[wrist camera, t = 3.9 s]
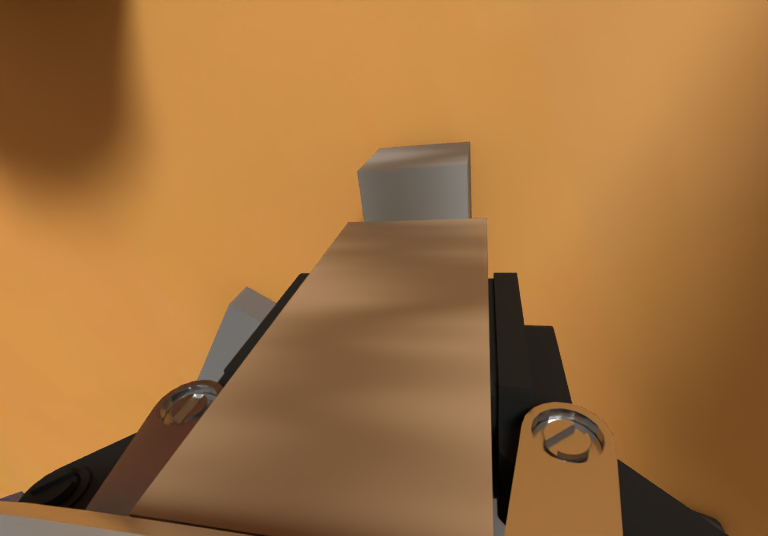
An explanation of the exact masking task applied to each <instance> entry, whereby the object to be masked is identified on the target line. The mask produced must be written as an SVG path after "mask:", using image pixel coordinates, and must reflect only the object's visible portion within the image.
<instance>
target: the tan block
mask: <svg viewBox="0 0 768 536" xmlns="http://www.w3.org/2000/svg"><path fill="white" fill-rule="evenodd" d="M357 173H358V180H359V187H360V194H361V201H362V208H363V215H364V222H348V223H347V225H346V226H345V227H344V229H343V230H342V231H341V233H340V234H339V235H338V237H337V238H336V239H335V241H334V242H333V243H332V245H331V246H330V247H329V249H328V250H327V251H326V253H325V254H324V255H323V257H322V258H321V259H320V261H319V262H318V263H317V265H316V266H315V267H314V269H313V270H312V271H311V272H310V274H309V275H308V276H307V278H306V279H305V280H304V282H303V283H302V284H301V286H300V287H299V288H298V290H297V291H296V292H295V294H294V295H293V296H292V298H291V299H290V300H289V302H288V303H287V304H286V306H285V307H284V308H283V310H282V311H281V312H280V314H279V315H278V316H277V318H276V319H275V320H274V322H273V323H272V324H271V326H270V327H269V328H268V330H267V331H266V332H265V334H264V335H263V336H262V338H261V339H260V340H259V341H258V343H257V344H256V345H255V347H254V348H253V349H252V351H251V352H250V353H249V355H248V356H247V357H246V359H245V360H244V361H243V363H242V364H241V365H240V367H239V368H238V369H237V371H236V372H235V373H234V375H233V376H232V377H231V379H230V380H229V381H228V383H227V384H226V385H225V387H224V388H223V389H222V391H221V392H220V393H219V395H218V396H217V397H216V399H215V400H214V401H213V403H212V404H211V405H210V407H209V408H208V409H207V411H206V412H205V413H204V414H203V416H202V417H201V418H200V420H199V421H198V422H197V424H196V425H195V426H194V428H193V429H192V430H191V432H190V433H189V434H188V436H187V437H186V438H185V440H184V441H183V442H182V444H181V445H180V446H179V448H178V449H177V450H176V452H175V453H174V454H173V456H172V457H171V458H170V460H169V461H168V462H167V464H166V465H165V466H164V468H163V469H162V470H161V472H160V473H159V474H158V476H157V477H156V478H155V480H154V481H153V482H152V483H151V485H150V486H149V487H148V489H147V490H146V491H145V493H144V494H143V495H142V497H141V498H140V499H139V501H138V502H137V503H136V505H135V506H134V507H133V509H132V510H131V511H130V513H129V515H130V517H134V518H141V519H147V520H154V521H161V522H167V523H174V524H181V525H187V526H194V527H201V528H207V529H214V530H220V531H226V532H233V533H239V534H246V535H252V536H493V494H492V446H491V398H490V350H489V301H488V253H487V218H472V215H471V164H470V142H460V143H447V144H433V145H419V146H405V147H392V148H380V149H379V150H378V151H377V152H376V153H375V154H374V155H373V156H372V157H371V158H370V159H369V160H368V161H367V162H366V163H365V164H364V165H363V166H362V167H361V168H360V169H359V170H358V171H357Z"/></svg>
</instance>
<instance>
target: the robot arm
mask: <svg viewBox="0 0 768 536" xmlns="http://www.w3.org/2000/svg"><path fill="white" fill-rule="evenodd" d="M309 274H310V273H301V274H300V275H299V276H298V277H297V278H296V280H295V281H294V282H293V283H292V285H291V286H290V287H289V288H288V290H287V291H286V292H285V293H284V295H283V296H282V297H281V298H280V300H279V301H278V302H277V303H276V305H275V306H274V307H273V308H272V310H271V311H270V312H269V313H268V315H267V316H266V317H265V319H264V320H263V321H262V322H261V324H260V325H259V326H258V327H257V329H256V330H255V331H254V332H253V334H252V335H251V336H250V337H249V339H248V340H247V341H246V342H245V344H244V345H243V346H242V347H241V349H240V350H239V351H238V353H237V354H236V355H235V356H234V358H233V359H232V360H231V361H230V363H229V364H228V365H227V366H226V368H225V369H224V375H223V376H222V377H221V378H220V380H219V381H218V382H215V381H212V380H198V381H193V382H190V383H187V384H184V385H181V386H179V387H178V388H176V389H174V390H172V391H170V392H169V393H168V394H167V395H165V396H164V397H163V398H162V399H161V400H160V401H159V402H158V403H157V404H156V406H155V407H154V408H153V410H152V411H151V413H150V414H149V416H148V417H147V419H146V420H145V422H144V423H143V425H142V426H141V428H140V429H139V431H138V432H137V433H135V434H133V435H130V436H128V437H126V438H124V439H122V440H120V441H117V442H115V443H113V444H111V445H109V446H107V447H104V448H102V449H100V450H98V451H96V452H94V453H91V454H89V455H87V456H85V457H83V458H81V459H78V460H76V461H74V462H72V463H70V464H67V465H65V466H63V467H61V468H59V469H57V470H55V471H53V472H52V473H50V474H48V475H46V476H45V477H43V478H42V479H41V480H39V481H38V482H37V483H35V484H34V485H33V486H32V487H31V488H30V489H29V490H28V491H27V492H26V493H25V494H24V493H23V492H22V491H21V492H18V493H15V494H12V495H9V496H6V497H4V498H1V499H0V536H252V535H246V534H239V533H233V532H226V531H220V530H214V529H207V528H201V527H194V526H187V525H181V524H174V523H167V522H161V521H154V520H147V519H141V518H134V517H130V515H129V513H130V511H131V510H132V509H133V507H134V506H135V505H136V503H137V502H138V501H139V499H140V498H141V497H142V495H143V494H144V493H145V491H146V490H147V489H148V487H149V486H150V485H151V483H152V482H153V481H154V480H155V478H156V477H157V476H158V474H159V473H160V472H161V470H162V469H163V468H164V466H165V465H166V464H167V462H168V461H169V460H170V458H171V457H172V456H173V454H174V453H175V452H176V450H177V449H178V448H179V446H180V445H181V444H182V442H183V441H184V440H185V438H186V437H187V436H188V434H189V433H190V432H191V430H192V429H193V428H194V426H195V425H196V424H197V422H198V421H199V420H200V418H201V417H202V416H203V414H204V413H205V412H206V411H207V409H208V408H209V407H210V405H211V404H212V403H213V401H214V400H215V399H216V397H217V396H218V395H219V393H220V392H221V391H222V389H223V388H224V387H225V385H226V384H227V383H228V381H229V380H230V379H231V377H232V376H233V375H234V373H235V372H236V371H237V369H238V368H239V367H240V365H241V364H242V363H243V361H244V360H245V359H246V357H247V356H248V355H249V353H250V352H251V351H252V349H253V348H254V347H255V345H256V344H257V343H258V341H259V340H260V339H261V338H262V336H263V335H264V334H265V332H266V331H267V330H268V328H269V327H270V326H271V324H272V323H273V322H274V320H275V319H276V318H277V316H278V315H279V314H280V312H281V311H282V310H283V308H284V307H285V306H286V304H287V303H288V302H289V300H290V299H291V298H292V296H293V295H294V294H295V292H296V291H297V290H298V288H299V287H300V286H301V284H302V283H303V282H304V280H305V279H306V278H307V276H308V275H309ZM488 301H489V350H490V398H491V446H492V494H493V499H497V517H498V518H499V519H500V520H501V521H502V523H503V524H504V525H505V526H506V527H505V534H504V536H728V535H727V534H725V533H724V532H723V531H721V530H720V529H718V528H717V527H715V526H714V525H712V524H711V523H710V522H708V521H707V520H705V519H704V518H702V517H701V516H699V515H698V514H696V513H695V512H694V511H692V510H691V509H689V508H688V507H686V506H685V505H683V504H682V503H681V502H679V501H678V500H676V499H675V498H673V497H672V496H670V495H669V494H668V493H666V492H665V491H663V490H662V489H660V488H659V487H657V486H656V485H654V484H653V483H652V482H650V481H649V480H647V479H646V478H644V477H643V476H641V475H640V474H639V473H637V472H636V471H634V470H633V469H631V468H630V467H628V466H627V465H626V464H624V463H623V462H621V461H620V460H618V459H617V451H616V443H615V439H614V436H613V433H612V431H611V430H610V429H609V427H608V426H607V424H606V423H605V422H604V421H603V420H602V419H600V418H599V417H598V416H597V415H596V414H594V413H592V412H590V411H588V410H587V409H585V408H583V407H580V406H577V405H573V404H572V401H571V397H570V393H569V389H568V385H567V381H566V377H565V373H564V369H563V364H562V360H561V356H560V352H559V348H558V344H557V340H556V336H555V332H554V329H553V327H552V326H533V325H524V319H523V312H522V306H521V299H520V292H519V285H518V278H517V273H494V279H488Z"/></svg>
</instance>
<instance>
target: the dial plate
mask: <svg viewBox="0 0 768 536" xmlns="http://www.w3.org/2000/svg"><path fill="white" fill-rule="evenodd" d="M275 305H276V303H274V302H273V301H271V300H269V299H267V298H265V297H264V296H262V295H260V294H258V293H257V292H255V291H253V290H251V289H250V288H248V287H246V288H245V289H244V290H243V291H242V292H241V293H240V294H239V295H238V296H237V297H236V298H235V299H234V300H233V301H232V302H231V303H230V304H229V306H228V309H227V311H226V314H225V316H224V318H223V321H222V323H221V325H220V328H219V330H218V332H217V335H216V337H215V340H214V342H213V344H212V347H211V349H210V351H209V354H208V356H207V359H206V361H205V363H204V366H203V368H202V370H201V373H200V375H199V377H198V380H212V381H215V382H218V381H219V380H220V378H221V377H222V376H223V375H224V369H225V368H226V366H227V365H228V364H229V363H230V361H231V360H232V359H233V358H234V356H235V355H236V354H237V353H238V351H239V350H240V349H241V347H242V346H243V345H244V344H245V342H246V341H247V340H248V339H249V337H250V336H251V335H252V334H253V332H254V331H255V330H256V329H257V327H258V326H259V325H260V324H261V322H262V321H263V320H264V319H265V317H266V316H267V315H268V313H269V312H270V311H271V310H272V308H273V307H274V306H275ZM198 380H197V381H198ZM505 527H506V526H505V525H504V524H503V523H502V521H501V520H500V519H499V518H498V517H497V499H493V536H504V534H505Z"/></svg>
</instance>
